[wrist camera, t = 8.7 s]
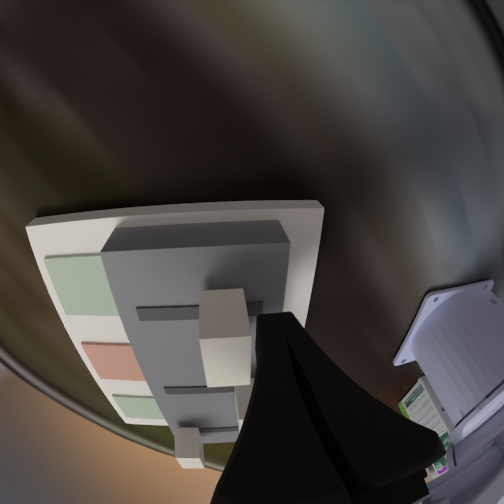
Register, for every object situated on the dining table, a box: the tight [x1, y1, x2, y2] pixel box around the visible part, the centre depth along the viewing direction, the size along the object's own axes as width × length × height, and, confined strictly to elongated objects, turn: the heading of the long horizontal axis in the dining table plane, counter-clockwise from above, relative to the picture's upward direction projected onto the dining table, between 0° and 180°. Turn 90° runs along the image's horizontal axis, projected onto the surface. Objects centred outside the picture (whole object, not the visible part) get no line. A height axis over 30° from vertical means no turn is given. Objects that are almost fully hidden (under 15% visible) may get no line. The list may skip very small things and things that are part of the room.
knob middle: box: [234, 378, 254, 432], centre depth 13 cm, size 2×3×2 cm, turn 179°
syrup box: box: [398, 376, 455, 480], centre depth 20 cm, size 6×6×14 cm
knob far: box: [175, 427, 205, 468], centre depth 16 cm, size 2×3×2 cm, turn 179°
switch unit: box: [26, 200, 324, 443], centre depth 15 cm, size 14×19×3 cm
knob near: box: [199, 288, 252, 387], centre depth 10 cm, size 2×3×2 cm, turn 0°
